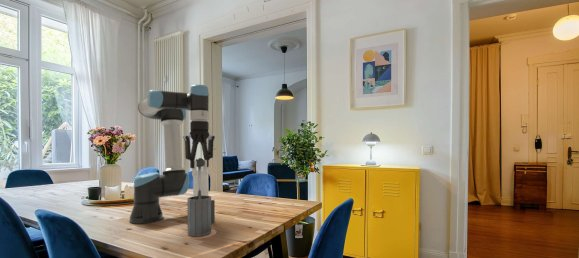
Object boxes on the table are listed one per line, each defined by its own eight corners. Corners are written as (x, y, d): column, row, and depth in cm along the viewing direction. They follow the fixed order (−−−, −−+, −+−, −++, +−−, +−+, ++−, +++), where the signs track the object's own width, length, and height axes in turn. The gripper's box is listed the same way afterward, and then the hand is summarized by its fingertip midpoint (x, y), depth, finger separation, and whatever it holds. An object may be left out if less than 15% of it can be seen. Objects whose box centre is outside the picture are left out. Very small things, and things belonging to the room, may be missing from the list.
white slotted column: (204, 225, 134) (204, 172, 136) (190, 224, 136) (190, 171, 137) (211, 220, 141) (211, 170, 143) (198, 220, 143) (198, 170, 144)
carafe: (183, 233, 120) (183, 197, 121) (208, 227, 128) (208, 194, 129) (193, 238, 113) (193, 201, 114) (219, 232, 121) (219, 196, 122)
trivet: (176, 235, 120) (176, 233, 120) (206, 227, 130) (206, 226, 130) (190, 243, 110) (190, 241, 110) (222, 234, 120) (222, 233, 120)
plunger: (189, 203, 121) (189, 158, 122) (202, 200, 125) (202, 157, 126) (196, 205, 116) (196, 158, 117) (209, 202, 121) (209, 157, 121)
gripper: (183, 119, 114) (183, 178, 113) (221, 121, 125) (221, 174, 124) (176, 120, 119) (176, 176, 118) (213, 122, 131) (213, 173, 130)
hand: (199, 175), depth 121 cm, fingers closed on plunger, 4 cm apart
